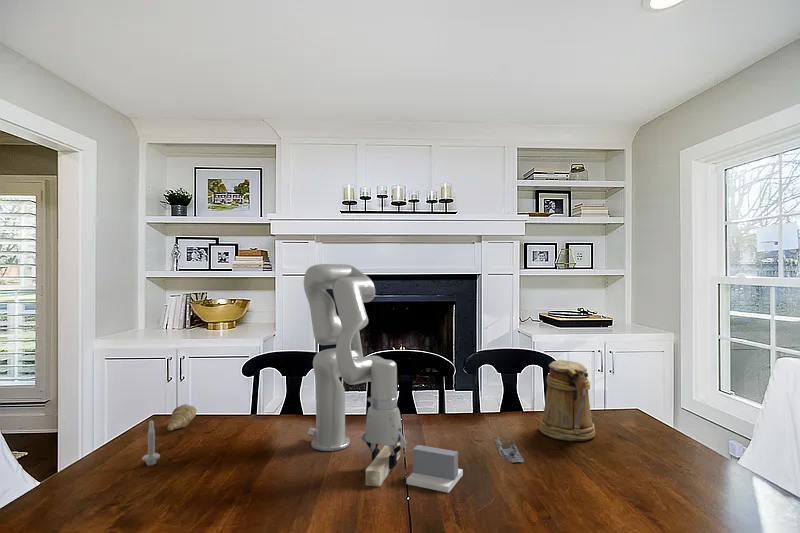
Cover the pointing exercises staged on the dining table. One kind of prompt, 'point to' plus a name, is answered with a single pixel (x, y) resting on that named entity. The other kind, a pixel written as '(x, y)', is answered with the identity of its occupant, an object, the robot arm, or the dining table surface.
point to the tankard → (567, 403)
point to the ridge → (435, 468)
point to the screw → (151, 447)
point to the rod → (379, 467)
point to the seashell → (181, 417)
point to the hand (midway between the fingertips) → (384, 465)
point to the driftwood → (509, 452)
